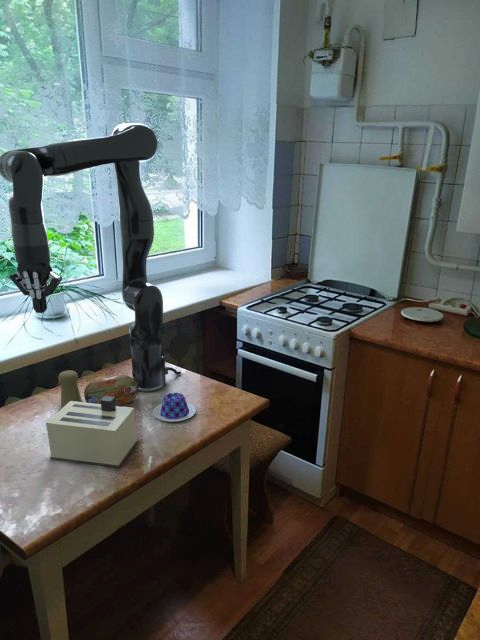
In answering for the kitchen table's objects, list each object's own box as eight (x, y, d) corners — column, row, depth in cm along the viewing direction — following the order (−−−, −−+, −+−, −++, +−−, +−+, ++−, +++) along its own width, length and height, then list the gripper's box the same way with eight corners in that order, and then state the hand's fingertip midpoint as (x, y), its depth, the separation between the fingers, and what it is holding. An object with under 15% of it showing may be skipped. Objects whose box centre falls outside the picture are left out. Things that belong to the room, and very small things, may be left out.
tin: (86, 411, 140) (83, 385, 136) (84, 406, 142) (81, 380, 139) (139, 401, 146) (137, 375, 143) (136, 397, 149) (135, 371, 146)
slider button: (105, 405, 123) (104, 395, 121) (115, 406, 122) (114, 396, 121) (101, 410, 120) (100, 400, 119) (111, 411, 120) (110, 401, 119)
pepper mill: (86, 402, 144) (82, 368, 140) (77, 413, 139) (73, 377, 135) (66, 401, 145) (62, 367, 141) (56, 411, 139) (51, 376, 135)
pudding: (148, 407, 143) (147, 391, 141) (187, 399, 148) (187, 384, 146) (160, 427, 133) (159, 410, 131) (202, 418, 138) (201, 401, 136)
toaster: (77, 431, 130) (72, 397, 126) (140, 438, 128) (137, 404, 124) (50, 459, 118) (44, 422, 114) (119, 468, 116) (115, 431, 112)
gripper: (65, 241, 119) (73, 309, 126) (14, 237, 121) (25, 305, 127) (48, 246, 112) (57, 319, 119) (-6, 243, 114) (7, 314, 120)
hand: (40, 312), depth 123 cm, fingers closed
